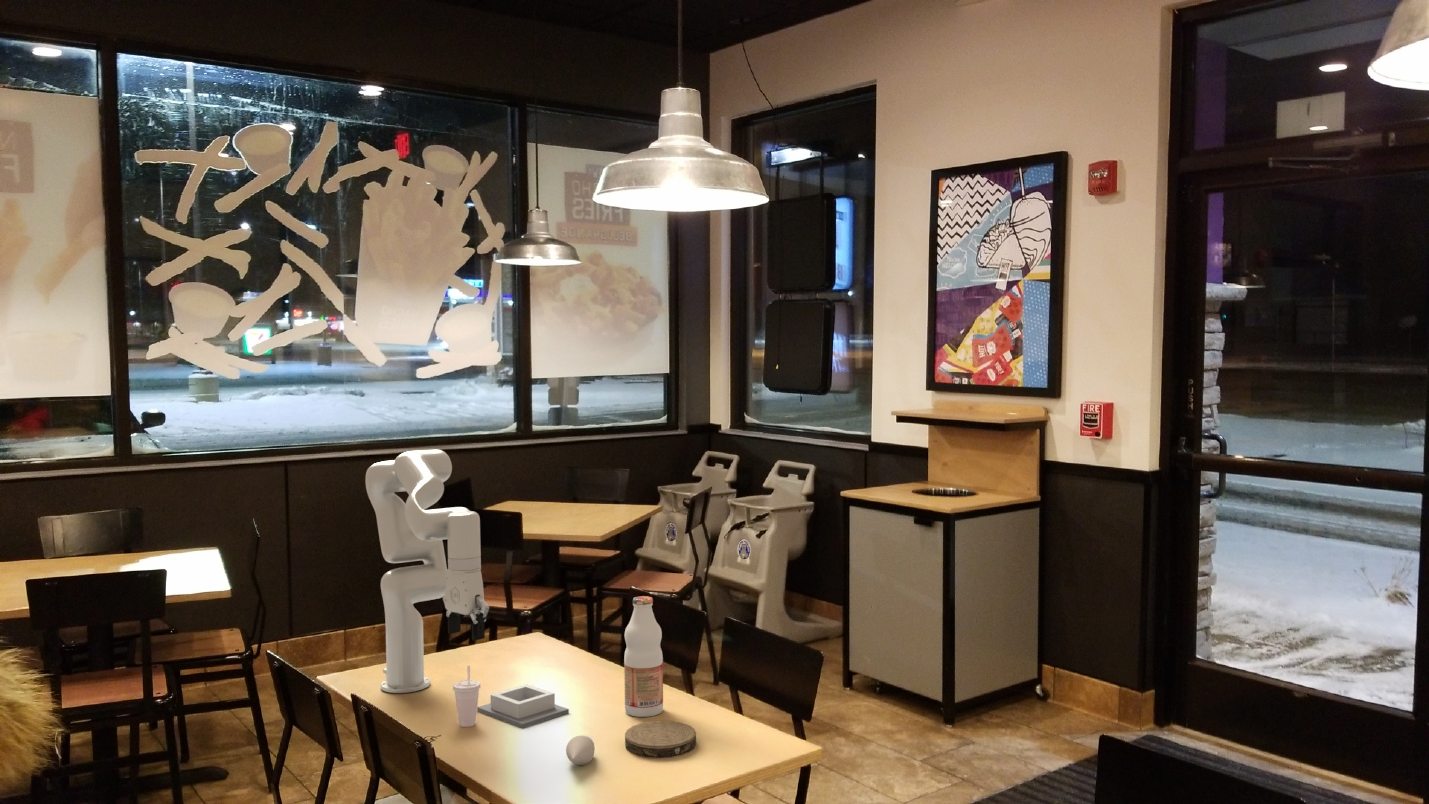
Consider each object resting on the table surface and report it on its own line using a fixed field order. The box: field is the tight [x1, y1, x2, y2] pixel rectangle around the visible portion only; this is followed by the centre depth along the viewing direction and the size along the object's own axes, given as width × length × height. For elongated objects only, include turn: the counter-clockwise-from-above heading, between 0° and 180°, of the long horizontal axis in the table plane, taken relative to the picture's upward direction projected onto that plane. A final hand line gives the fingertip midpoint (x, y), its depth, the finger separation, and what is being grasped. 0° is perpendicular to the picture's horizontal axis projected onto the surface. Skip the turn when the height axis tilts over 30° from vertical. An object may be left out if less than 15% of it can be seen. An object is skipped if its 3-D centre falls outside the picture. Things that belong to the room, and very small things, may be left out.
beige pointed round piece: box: [565, 735, 596, 766], centre depth 228 cm, size 6×6×15 cm
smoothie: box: [452, 665, 481, 728], centre depth 254 cm, size 6×6×14 cm
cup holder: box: [477, 684, 570, 729], centre depth 262 cm, size 18×14×4 cm
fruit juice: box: [623, 595, 664, 718], centre depth 262 cm, size 9×9×28 cm
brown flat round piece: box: [624, 720, 697, 759], centre depth 240 cm, size 16×16×3 cm
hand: (466, 636), depth 253 cm, fingers open, 9 cm apart
